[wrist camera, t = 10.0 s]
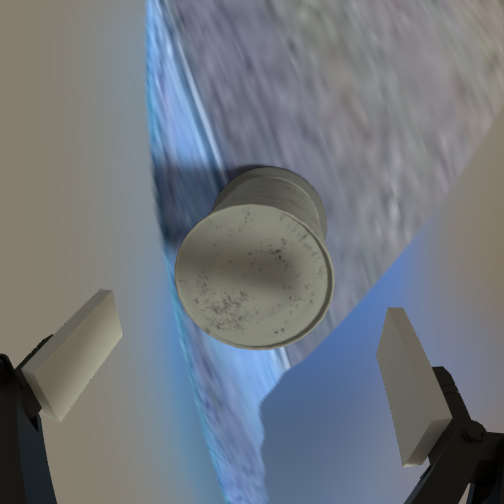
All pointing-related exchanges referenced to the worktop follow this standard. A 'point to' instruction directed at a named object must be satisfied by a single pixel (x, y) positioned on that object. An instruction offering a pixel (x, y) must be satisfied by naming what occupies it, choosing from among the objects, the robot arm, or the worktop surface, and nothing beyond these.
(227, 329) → the grey marble cylinder
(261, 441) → the worktop surface
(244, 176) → the pad
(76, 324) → the robot arm
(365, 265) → the worktop surface
